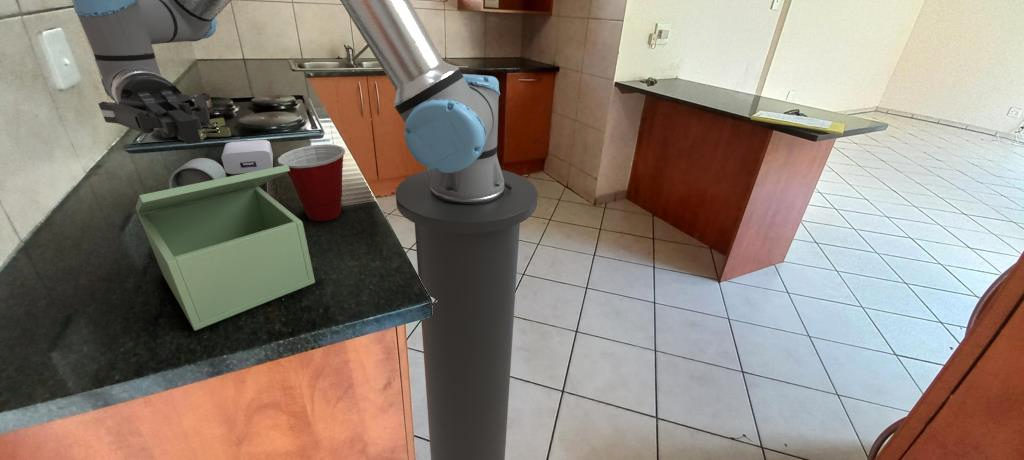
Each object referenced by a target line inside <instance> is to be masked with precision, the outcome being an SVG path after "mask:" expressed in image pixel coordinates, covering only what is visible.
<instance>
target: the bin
mask: <svg viewBox="0 0 1024 460" xmlns="http://www.w3.org/2000/svg"><path fill="white" fill-rule="evenodd" d="M137 216H138V218H139V221H140V223H141V226H142V227H143V230H144V233H145V235H146V238H147V240H148V242H149V244H150V247H151V249H152V252H153V254H154V258H155V259H156V261H157V264H158V266H159V269H160V271H161V273H162V276H163V278H164V280H165V281H166V283H167V285H168V287H169V288H170V290H171V292H172V294H173V296H174V297H175V299H176V301H177V302H178V304H179V306H180V308H181V310H182V311H183V313H184V316H185V317H186V318H187V321H188V322H189V324H190V326H191V327H192V329H193V331H198V330H201V329H203V328H205V327H208V326H210V325H213V324H216V323H218V322H220V321H222V320H223V321H224V320H226V319H228V318H230V317H233V316H235V315H238V314H241V313H243V312H245V311H248V310H250V309H253V308H255V307H258V306H261V305H263V304H265V303H269V302H271V301H273V300H275V299H278V298H280V297H283V296H286V295H288V294H290V293H294V292H295V291H298V290H301V289H303V288H305V287H308V286H311V285H313V284H315V283H316V280H315V275H314V270H313V265H312V262H311V256H310V252H309V247H308V242H307V238H306V232H305V227H304V223H303V221H302V220H301V219H300V218H298V217H297V216H296V215H295V214H293V213H292V212H291V211H289V210H288V209H287V207H284V206H283V205H282V204H281V203H280V202H278V201H277V200H276V199H275V198H273V197H272V196H271V195H270V194H268V193H267V192H266V191H264V189H262V188H261V187H260V186H257V187H253V188H249V189H244V190H240V191H235V192H231V193H227V194H222V195H218V196H215V197H211V198H207V199H202V200H198V201H194V202H189V203H185V204H184V203H183V204H179V205H174V206H170V207H166V208H161V209H157V210H153V211H148V212H144V213H140V214H138V213H137Z"/></svg>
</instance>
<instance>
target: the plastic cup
mask: <svg viewBox="0 0 1024 460" xmlns="http://www.w3.org/2000/svg"><path fill="white" fill-rule="evenodd" d="M345 154H346V150H345V148H344V147H343V146H341V145H338V144H328V143H327V144H314V145H313V144H312V145H307V146H302V147H297V148H295V149H291V150H289V151H287V152H285V153H283V154H281V155H280V156H279V157H278V158H277V162H278V164H279V166H283V165H288V166H289V169H290V171H289V172H287V175H288V178H290V180H291V182H292V185H293V187H294V190H295V192H296V194H297V196H298V199H299V202H300V203H301V205H302V207H303V209H304V212H305V214H306V216H307V217H308V219H309V220H311V221H316V222H325V221H330V220H334V219H335V218H337V217H339V216H340V215H341V212H342V211H341V210H342V197H343V168H344V156H345Z"/></svg>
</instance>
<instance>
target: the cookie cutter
mask: <svg viewBox="0 0 1024 460" xmlns="http://www.w3.org/2000/svg"><path fill="white" fill-rule="evenodd" d="M213 122H217V123H218V124H216V125H217V126H218V127H216V128H219V129H208V128H203V129H201V131H200V132H199V135H201V134H202V131H204V130H209V131H217V130H218V131H220V133H205V134H203V135H202V136H200V138H201V141H203V140H205V138H207V137H208V138H209V137H210V138H214V137H215V138H216V137H217V138H219V137H221V138H223V137H231V136H232V132H231V129H230V127H225V126H226V122H225V118H224V117H217V118H210V123H213ZM206 127H207V126H206ZM208 127H212V126H209V125H208ZM176 136H177V138H178V140H179V141H183V140H182V139H181V138H180V137H179V136H178V135H177V134H176Z"/></svg>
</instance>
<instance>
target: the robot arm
mask: <svg viewBox="0 0 1024 460" xmlns="http://www.w3.org/2000/svg"><path fill="white" fill-rule="evenodd" d="M71 1H72V4H73V9H74V12H75V14H76V15H77V17H78V19H79V22H80V24H81V26H82V29H83V31H84V34H85V36H86V38H87V41H88V44H89V46H90V48H91V51H92V53H93V57H94V60H95V64H96V66H97V68H98V71H99V73H100V76H101V84H102V86H103V89H104V90H103V91H104V92H105V94H106V95H107V96H109V97H110V99H111V100H112V101H114V102H110V101H100V102H98V103H97V105H98V107H99V109H100V112H101V114H102V117H103V119H104V122H105V123H109V124H118V125H121V126H123V127H126V128H129V129H132V130H135V131H137V132H140V133H144V134H152V133H154V132H155V129H158V130H159V131H160V132H161V134H162V137H163V138H167V139H168V138H172V137H175V135H176V136H177V135H178V136H179V137H180V138H181V139H182V140H181V141H183V142H184V143H185V144H186V145H190V144H196V143H202V142H203V140H201V138H200V135H199V132H198V130H201V129H202V127H201V126H208V125H210V119H211V117H210V113H213V112H214V110H215V109H214V105H213V102H212V99H211V95H210V93H207V92H202V93H200V94H195V95H192V96H193V98H192V96H190V95H189V94H187V93H183V92H182V91H181V90H180V89H179V88H178V86H176V85H175V84H174V83H173V82H172V81H170V80H168V79H166V78H165V77H163V76H162V74H161V70H160V68H159V65H158V62H157V59H156V55H155V52H154V48H153V45H160V44H161V45H162V44H171V43H182V42H198V41H201V40H205V39H208V38H210V37H212V36H213V35H214V34H215V32H216V30H217V23H218V21H217V17H218V16H219V14H221V12H222V11H224V9H225V8H227V6H228V5H229V4H230V3H231V2H232V0H71ZM339 1H340V3H341V5H342V6H343V8H344V9H345V11H346V12H347V14H348V16H349V17H350V19H351V20H352V22H353V24H354V26H355V27H356V28H357V30H358V32H359V34H360V35H361V36H362V39H363V40H364V41H365V43H366V45H367V46H368V48H369V49H370V52H372V54H373V56H374V58H375V59H376V61H377V62H378V64H379V66H380V67H381V69H382V70H383V72H384V73H385V75H386V77H387V79H388V80H389V81H390V83H391V85H392V86H393V88H394V90H395V95H394V99H393V100H394V101H393V107H394V109H395V110H396V111H397V113H398V115H399V116H400V118H401V120H402V121H403V123H404V141H405V144H406V147H407V149H408V151H409V153H410V154H411V156H412V157H413V158H414V159H415V160H416V162H418V163H419V164H420V165H422V166H423V167H424V168H427V169H428V170H430V169H431V170H434V171H433V174H432V177H431V183H430V189H431V194H432V195H433V196H434V197H435V198H437V199H439V200H441V201H444V202H447V203H451V204H457V205H480V204H485V203H489V202H493V201H495V200H497V199H499V198H500V197H502V196H503V194H504V190H505V187H506V188H508V189H509V190H511V189H512V186H511V185H510V184H508V183H507V182H505V181H504V178H503V175H502V171H501V170H502V168H501V165H500V162H499V159H498V135H499V134H498V133H499V132H498V130H499V129H498V128H499V100H500V99H499V98H500V96H501V92H500V82H499V80H498V78H497V77H496V76H493V75H484V74H482V75H481V74H467V73H462V71H461V69H460V68H459V66H458V65H453V64H450V63H448V62H446V61H444V59H443V57H442V56H441V54H440V52H439V50H438V48H437V46H436V45H435V43H434V41H433V39H432V38H431V36H430V34H429V32H428V30H427V29H426V27H425V25H424V24H423V21H422V19H421V18H420V16H419V14H418V12H417V11H416V9H415V7H414V6H413V4H412V2H411V1H410V0H339ZM193 109H194V110H193ZM178 136H177V137H178Z"/></svg>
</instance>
